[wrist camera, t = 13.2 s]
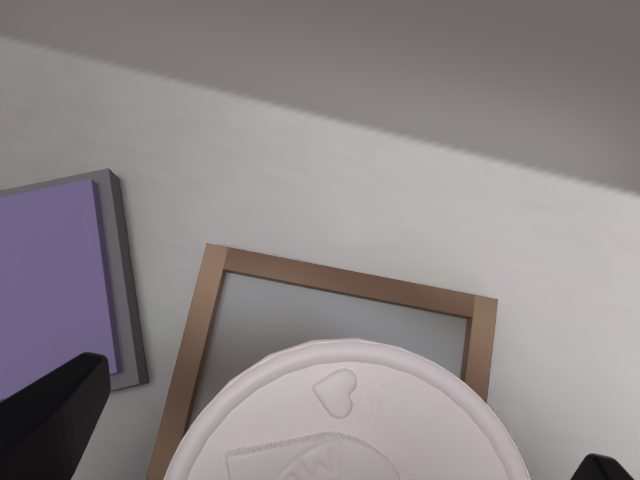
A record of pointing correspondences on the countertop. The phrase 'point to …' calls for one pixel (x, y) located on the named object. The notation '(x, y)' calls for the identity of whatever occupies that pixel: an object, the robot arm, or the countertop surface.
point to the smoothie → (346, 421)
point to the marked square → (310, 327)
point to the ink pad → (66, 281)
